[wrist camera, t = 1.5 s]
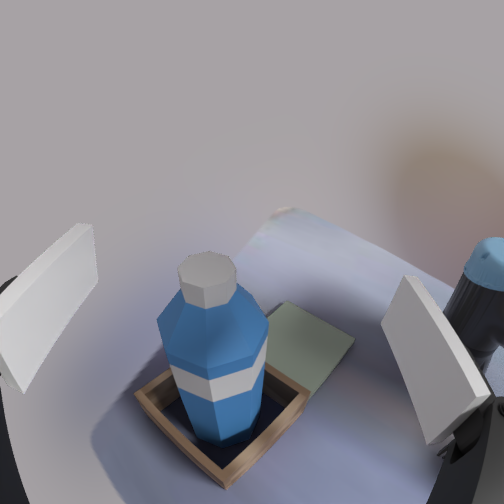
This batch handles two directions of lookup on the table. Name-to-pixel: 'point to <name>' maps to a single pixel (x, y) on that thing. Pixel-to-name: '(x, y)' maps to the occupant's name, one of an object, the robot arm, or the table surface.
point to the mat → (304, 346)
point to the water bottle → (216, 349)
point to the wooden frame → (285, 394)
